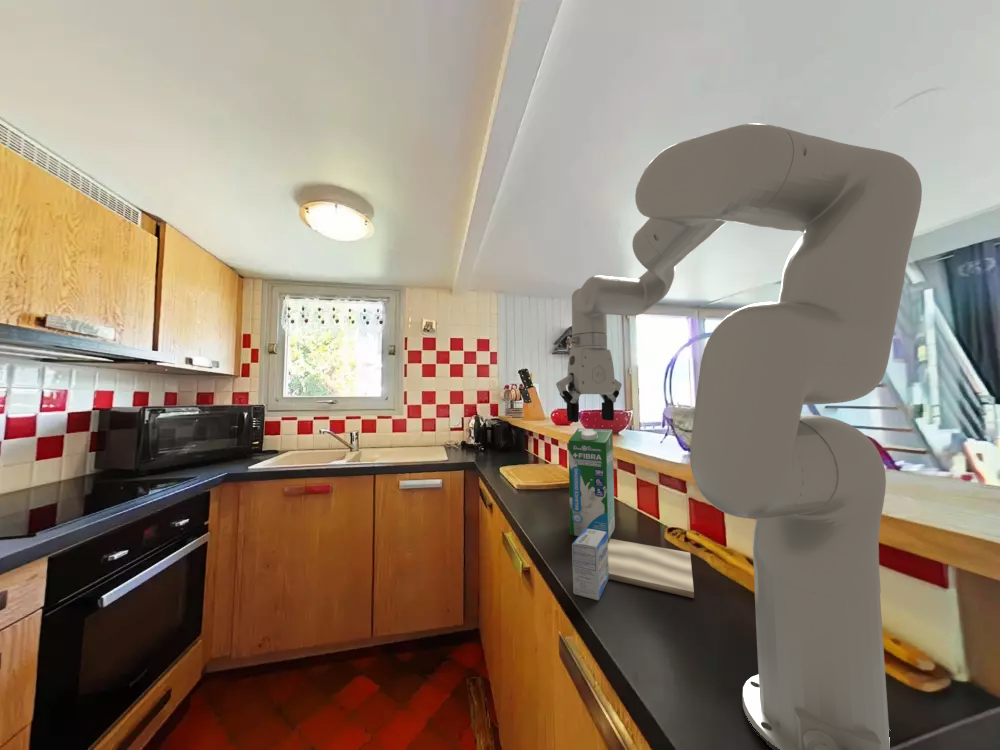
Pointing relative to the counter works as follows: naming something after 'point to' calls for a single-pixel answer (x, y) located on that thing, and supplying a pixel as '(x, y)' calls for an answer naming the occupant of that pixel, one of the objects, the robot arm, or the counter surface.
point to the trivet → (651, 567)
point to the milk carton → (591, 481)
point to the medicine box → (590, 563)
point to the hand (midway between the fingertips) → (590, 420)
